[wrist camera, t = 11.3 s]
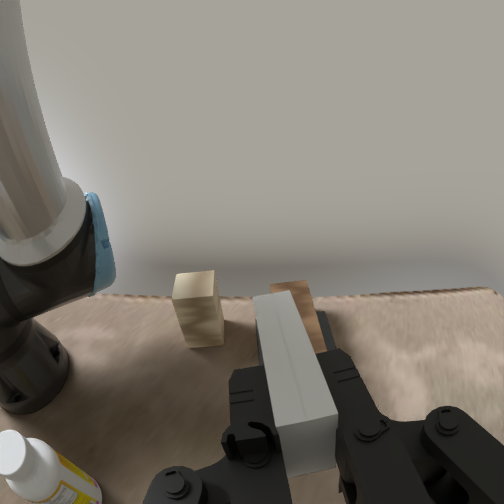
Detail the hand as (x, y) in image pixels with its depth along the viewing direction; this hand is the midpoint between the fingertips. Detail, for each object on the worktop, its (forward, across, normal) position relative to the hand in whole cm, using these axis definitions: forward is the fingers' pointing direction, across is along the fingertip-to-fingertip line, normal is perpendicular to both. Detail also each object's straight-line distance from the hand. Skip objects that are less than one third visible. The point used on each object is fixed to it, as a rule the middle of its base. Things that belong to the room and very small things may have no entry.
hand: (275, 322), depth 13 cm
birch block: (+27, -8, -18) cm, 33 cm away
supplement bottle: (+3, -24, -23) cm, 33 cm away
